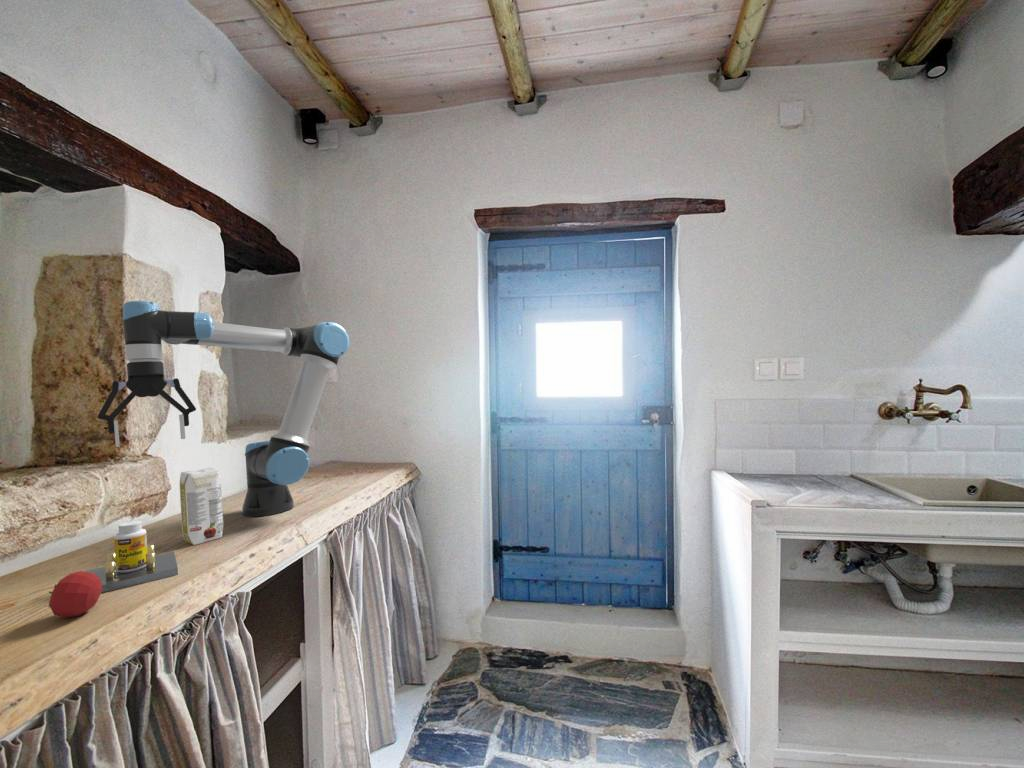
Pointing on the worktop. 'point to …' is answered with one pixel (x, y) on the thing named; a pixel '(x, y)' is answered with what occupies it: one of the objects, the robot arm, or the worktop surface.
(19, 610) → the worktop surface
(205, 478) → the juice carton
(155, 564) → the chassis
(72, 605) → the tomato
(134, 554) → the supplement bottle
